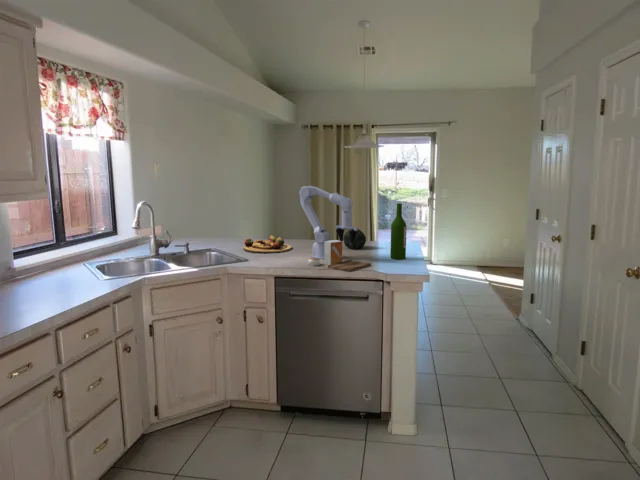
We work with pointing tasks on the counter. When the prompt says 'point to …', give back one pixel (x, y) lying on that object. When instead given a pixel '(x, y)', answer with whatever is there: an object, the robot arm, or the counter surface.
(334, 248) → the small box
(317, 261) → the ramekin
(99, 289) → the counter surface
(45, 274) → the counter surface
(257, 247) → the wooden plate with food
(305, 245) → the counter surface
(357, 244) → the squash
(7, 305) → the counter surface
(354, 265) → the cutting board
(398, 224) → the wine bottle
